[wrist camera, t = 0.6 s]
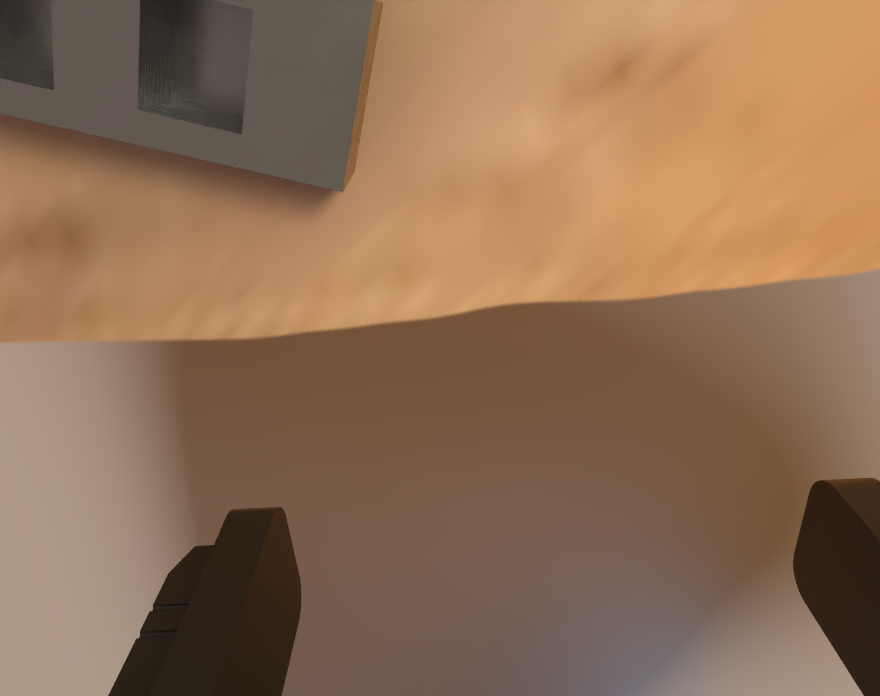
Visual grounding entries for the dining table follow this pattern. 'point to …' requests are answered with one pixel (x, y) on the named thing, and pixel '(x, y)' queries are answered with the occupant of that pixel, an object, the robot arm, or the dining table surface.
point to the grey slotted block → (199, 77)
